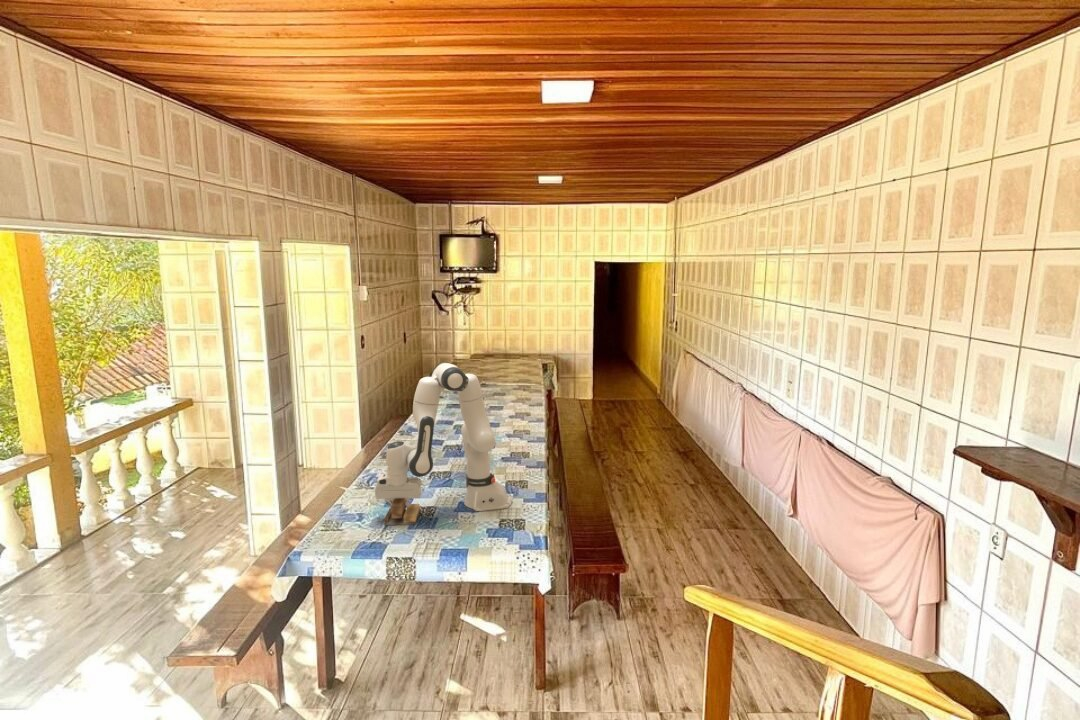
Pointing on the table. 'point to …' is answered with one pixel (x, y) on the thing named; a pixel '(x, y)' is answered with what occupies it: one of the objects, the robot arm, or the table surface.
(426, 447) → the robot arm
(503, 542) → the table surface
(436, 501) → the table surface
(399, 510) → the walnut plank
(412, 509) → the floor section
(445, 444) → the table surface
